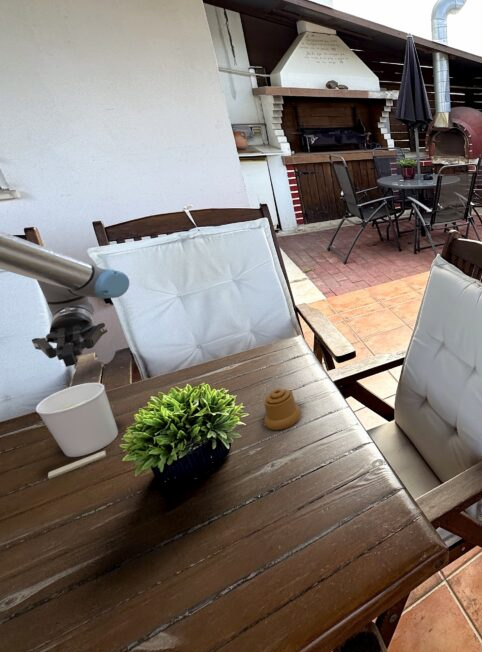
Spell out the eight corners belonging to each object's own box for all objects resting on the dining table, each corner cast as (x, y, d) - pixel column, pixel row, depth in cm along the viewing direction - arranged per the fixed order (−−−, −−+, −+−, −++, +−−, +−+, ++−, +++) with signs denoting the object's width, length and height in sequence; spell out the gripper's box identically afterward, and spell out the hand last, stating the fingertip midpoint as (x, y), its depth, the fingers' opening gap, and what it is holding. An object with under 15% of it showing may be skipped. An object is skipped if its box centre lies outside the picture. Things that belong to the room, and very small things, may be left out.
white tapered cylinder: (59, 443, 86) (35, 397, 82) (120, 420, 93) (102, 376, 88) (59, 468, 80) (34, 420, 75) (125, 441, 86) (105, 396, 82)
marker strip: (49, 479, 77) (47, 477, 77) (49, 474, 78) (48, 472, 78) (106, 456, 82) (105, 454, 82) (105, 452, 84) (104, 450, 83)
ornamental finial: (273, 437, 88) (260, 421, 92) (307, 419, 93) (294, 405, 97) (265, 407, 85) (252, 393, 89) (301, 390, 90) (287, 378, 95)
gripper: (29, 320, 100) (17, 357, 84) (101, 305, 108) (103, 335, 92) (41, 346, 102) (31, 387, 86) (111, 330, 111) (114, 363, 95)
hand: (68, 360), depth 89 cm, fingers closed
